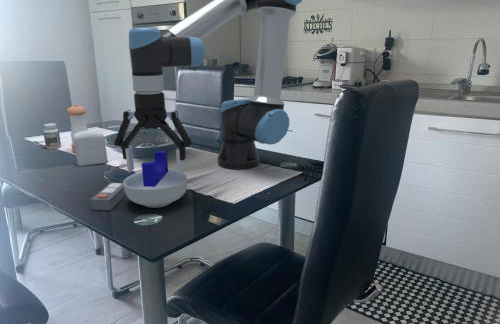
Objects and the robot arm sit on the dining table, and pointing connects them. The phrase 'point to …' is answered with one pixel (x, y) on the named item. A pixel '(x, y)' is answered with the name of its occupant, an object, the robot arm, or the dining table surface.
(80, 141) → the photo printer
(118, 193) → the power strip
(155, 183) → the blue bridge block
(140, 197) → the cereal bowl
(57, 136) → the pill bottle
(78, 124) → the pepper shaker
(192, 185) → the dining table surface
